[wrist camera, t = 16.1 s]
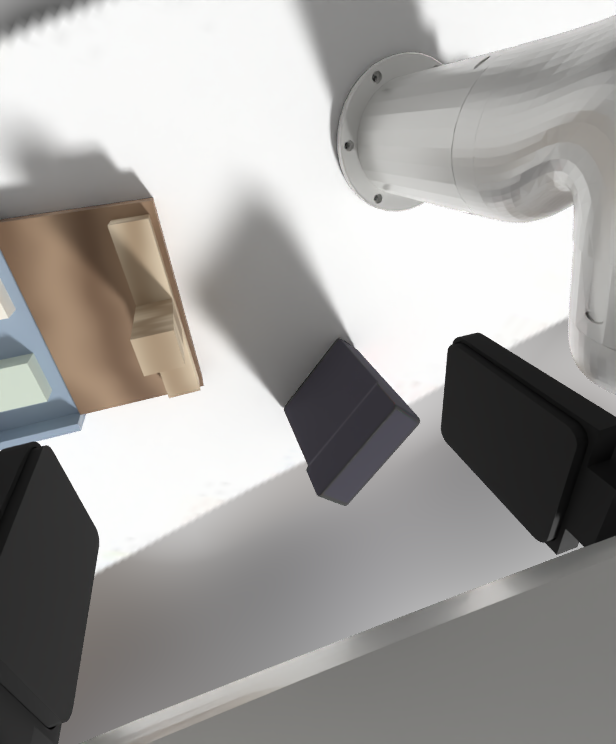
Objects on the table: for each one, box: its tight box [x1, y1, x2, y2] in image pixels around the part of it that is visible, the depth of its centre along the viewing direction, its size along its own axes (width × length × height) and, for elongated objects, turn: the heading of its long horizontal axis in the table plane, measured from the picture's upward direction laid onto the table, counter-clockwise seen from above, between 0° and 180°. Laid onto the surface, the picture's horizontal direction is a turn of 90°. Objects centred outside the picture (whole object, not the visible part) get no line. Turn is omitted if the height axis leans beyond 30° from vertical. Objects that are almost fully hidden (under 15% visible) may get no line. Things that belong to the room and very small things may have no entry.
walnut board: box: [0, 198, 204, 415], centre depth 38 cm, size 12×18×2 cm, turn 5°
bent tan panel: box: [108, 214, 200, 398], centre depth 34 cm, size 3×16×10 cm, turn 6°
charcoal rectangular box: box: [284, 338, 420, 506], centre depth 43 cm, size 11×4×15 cm, turn 141°
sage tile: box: [0, 353, 52, 412], centre depth 37 cm, size 4×4×2 cm
